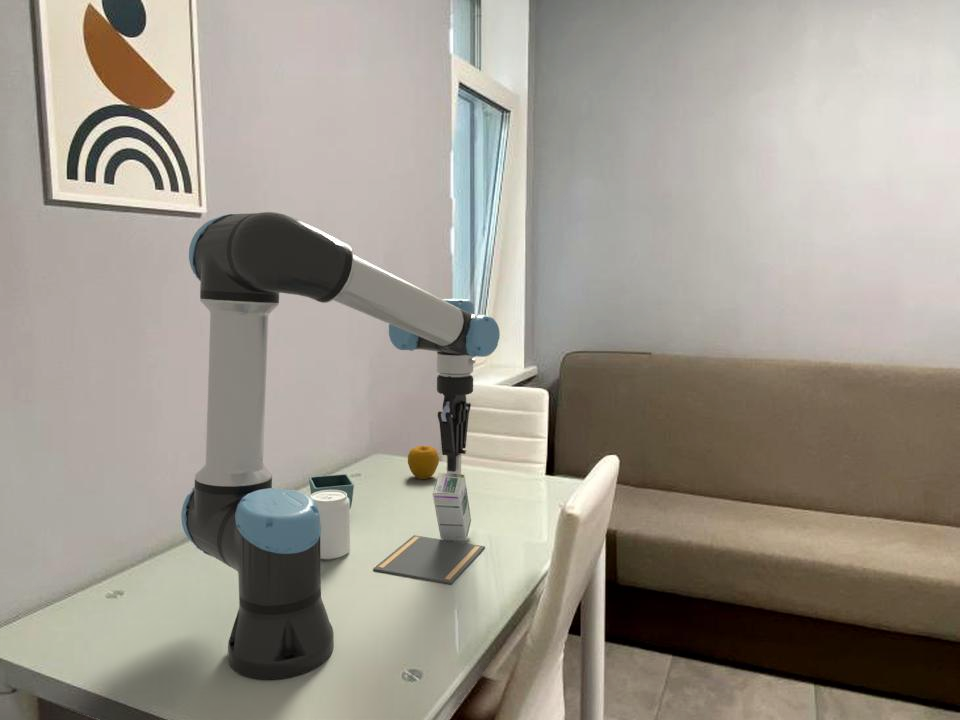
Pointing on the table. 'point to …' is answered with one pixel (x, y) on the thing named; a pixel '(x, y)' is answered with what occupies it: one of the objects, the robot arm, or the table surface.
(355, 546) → the table surface
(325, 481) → the flower pot
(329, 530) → the beverage can
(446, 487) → the syrup box
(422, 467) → the apple
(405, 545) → the mat
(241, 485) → the robot arm
